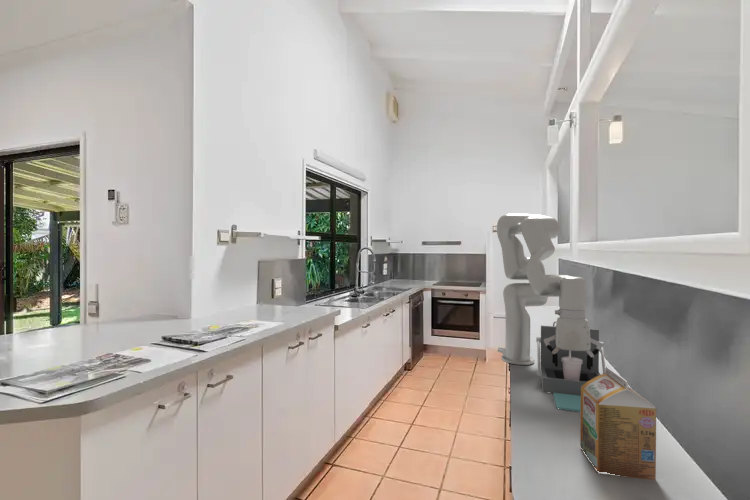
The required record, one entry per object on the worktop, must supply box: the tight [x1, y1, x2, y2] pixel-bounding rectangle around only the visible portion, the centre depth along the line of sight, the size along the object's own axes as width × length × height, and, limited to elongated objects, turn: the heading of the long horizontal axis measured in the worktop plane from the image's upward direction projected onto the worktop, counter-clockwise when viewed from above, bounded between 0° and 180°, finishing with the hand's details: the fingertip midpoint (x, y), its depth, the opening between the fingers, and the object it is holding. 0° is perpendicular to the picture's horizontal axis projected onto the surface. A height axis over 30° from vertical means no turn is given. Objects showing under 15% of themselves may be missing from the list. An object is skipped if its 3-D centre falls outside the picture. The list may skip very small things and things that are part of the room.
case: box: [536, 325, 606, 396], centre depth 131 cm, size 21×15×18 cm
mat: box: [553, 393, 581, 413], centre depth 117 cm, size 12×12×1 cm
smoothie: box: [561, 350, 583, 381], centre depth 130 cm, size 6×6×14 cm
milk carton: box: [579, 366, 657, 481], centre depth 85 cm, size 11×11×19 cm
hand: (572, 367), depth 130 cm, fingers open, 9 cm apart
